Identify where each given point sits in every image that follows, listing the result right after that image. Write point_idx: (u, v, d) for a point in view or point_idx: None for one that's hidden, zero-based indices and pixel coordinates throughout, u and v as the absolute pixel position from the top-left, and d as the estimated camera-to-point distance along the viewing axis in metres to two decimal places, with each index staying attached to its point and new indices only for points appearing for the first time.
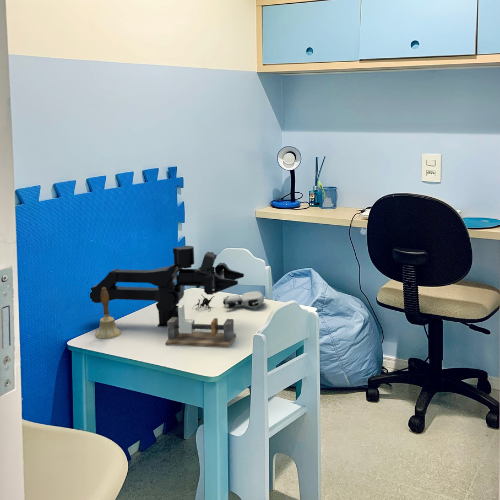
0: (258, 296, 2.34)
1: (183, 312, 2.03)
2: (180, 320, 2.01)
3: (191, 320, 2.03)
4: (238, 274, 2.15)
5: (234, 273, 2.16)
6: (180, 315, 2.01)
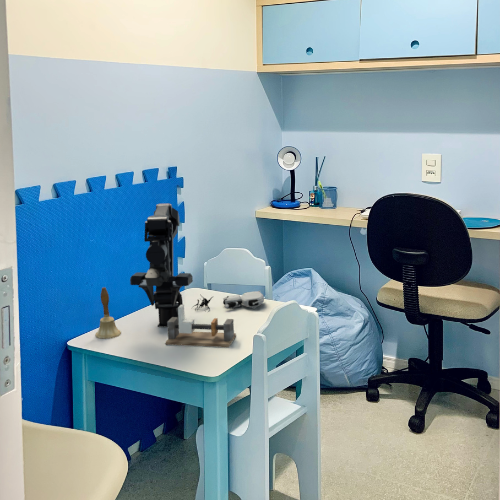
0: (258, 296, 2.34)
1: (183, 312, 2.03)
2: (180, 320, 2.01)
3: (191, 320, 2.03)
4: None
5: None
6: (180, 315, 2.01)
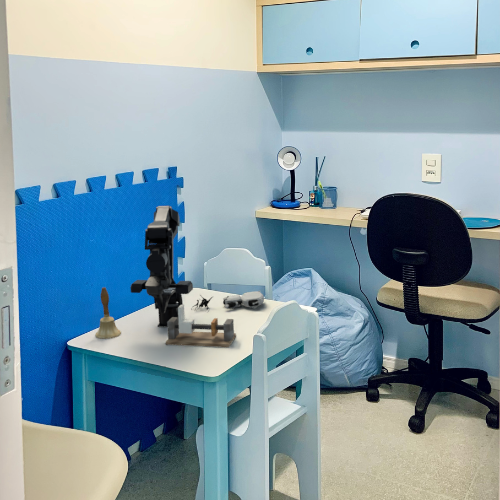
0: (258, 296, 2.34)
1: (183, 312, 2.03)
2: (180, 320, 2.01)
3: (191, 320, 2.03)
4: None
5: None
6: (180, 315, 2.01)
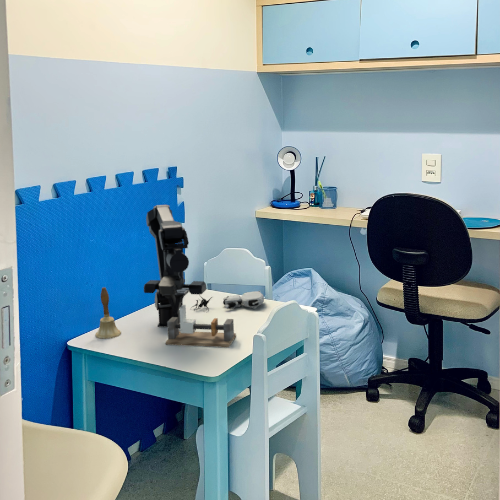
0: (258, 296, 2.34)
1: (184, 312, 2.03)
2: (181, 320, 2.01)
3: (192, 320, 2.03)
4: None
5: None
6: (181, 315, 2.01)
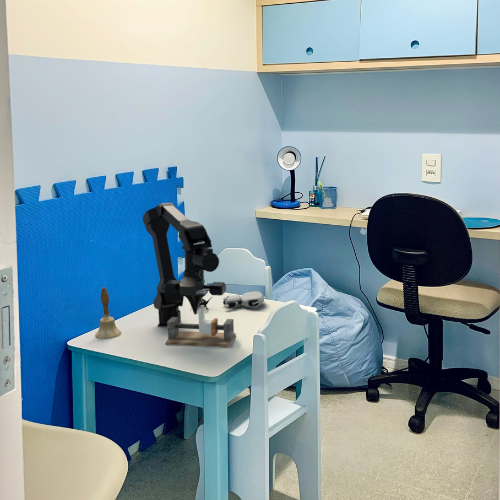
0: (258, 296, 2.34)
1: (203, 313, 2.01)
2: (200, 321, 2.00)
3: (211, 321, 2.02)
4: None
5: None
6: (200, 316, 2.00)
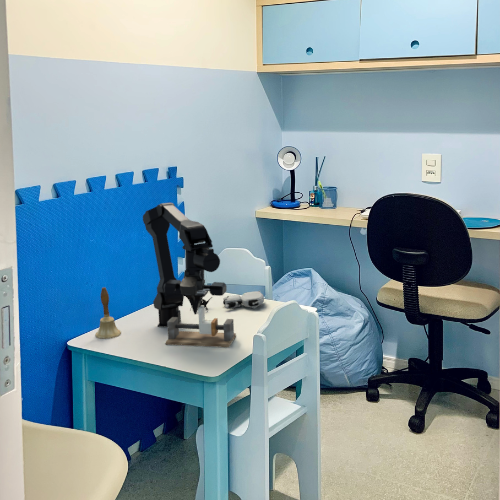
0: (258, 296, 2.34)
1: (203, 313, 2.01)
2: (200, 321, 2.00)
3: (211, 321, 2.02)
4: None
5: None
6: (200, 316, 2.00)
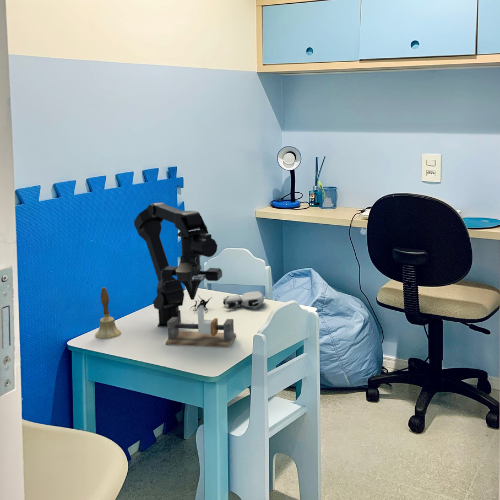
0: (258, 296, 2.34)
1: (202, 313, 2.02)
2: (199, 321, 2.00)
3: (210, 321, 2.02)
4: None
5: None
6: (199, 316, 2.00)
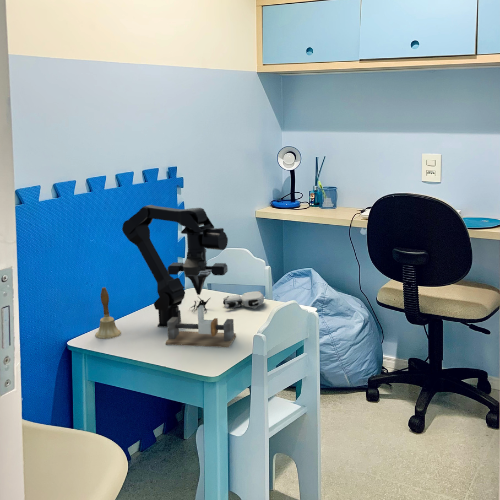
0: (258, 296, 2.34)
1: (202, 313, 2.02)
2: (199, 321, 2.00)
3: (210, 321, 2.02)
4: None
5: None
6: (199, 316, 2.00)
